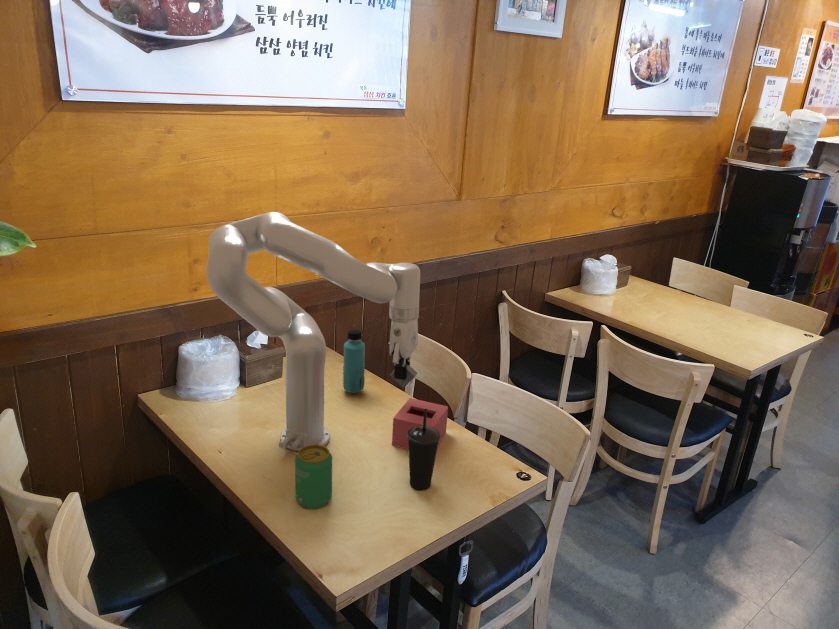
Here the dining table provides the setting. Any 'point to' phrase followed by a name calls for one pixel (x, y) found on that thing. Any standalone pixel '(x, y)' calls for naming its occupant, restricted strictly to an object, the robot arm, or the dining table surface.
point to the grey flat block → (409, 376)
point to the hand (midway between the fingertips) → (401, 376)
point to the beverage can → (313, 476)
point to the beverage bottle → (354, 362)
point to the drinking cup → (422, 454)
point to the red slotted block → (418, 420)
